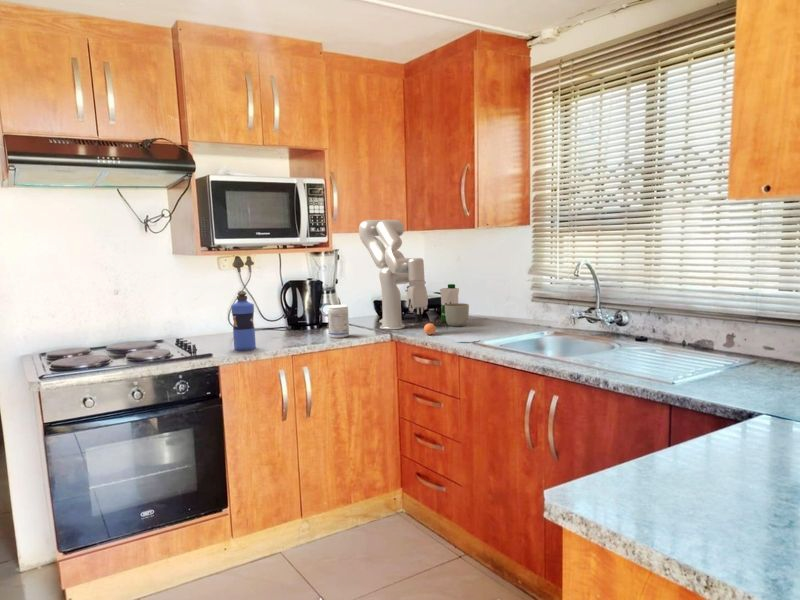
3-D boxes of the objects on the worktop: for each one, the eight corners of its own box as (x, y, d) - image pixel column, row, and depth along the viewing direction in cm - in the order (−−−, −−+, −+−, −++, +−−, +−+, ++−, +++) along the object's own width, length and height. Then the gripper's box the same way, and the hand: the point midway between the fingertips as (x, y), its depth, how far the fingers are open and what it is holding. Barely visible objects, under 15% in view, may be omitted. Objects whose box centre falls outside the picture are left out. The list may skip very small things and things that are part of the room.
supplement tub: (330, 335, 275) (329, 304, 273) (350, 334, 275) (348, 304, 273) (327, 338, 265) (326, 307, 264) (348, 338, 265) (346, 306, 263)
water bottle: (234, 351, 239) (231, 292, 237) (232, 347, 248) (229, 290, 245) (257, 349, 243) (254, 291, 240) (254, 345, 251) (251, 289, 249)
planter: (461, 328, 285) (460, 306, 284) (440, 326, 292) (440, 305, 291) (473, 324, 295) (473, 303, 294) (453, 323, 302) (452, 302, 301)
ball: (421, 334, 268) (421, 323, 267) (430, 333, 271) (429, 322, 271) (429, 336, 263) (429, 324, 263) (438, 334, 267) (437, 323, 266)
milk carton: (461, 320, 309) (460, 284, 307) (451, 323, 302) (451, 285, 300) (448, 319, 315) (447, 283, 313) (438, 321, 308) (437, 285, 306)
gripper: (423, 283, 279) (424, 320, 280) (399, 285, 269) (401, 323, 270) (433, 283, 273) (435, 320, 274) (410, 285, 263) (412, 324, 265)
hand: (418, 322), depth 272 cm, fingers closed
